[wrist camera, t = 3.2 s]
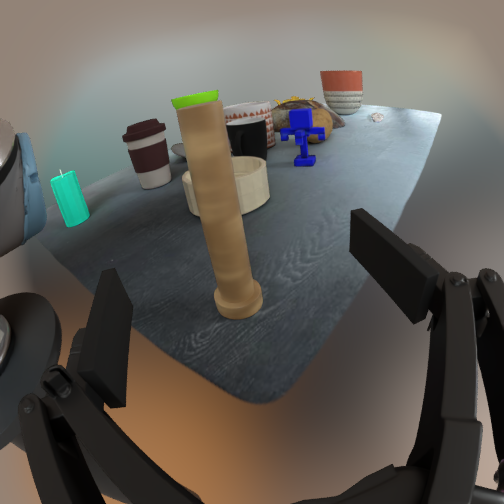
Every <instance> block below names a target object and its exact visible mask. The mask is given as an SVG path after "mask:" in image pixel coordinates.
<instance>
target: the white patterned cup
mask: <svg viewBox="0 0 504 504" xmlns="http://www.w3.org/2000/svg"><path fill="white" fill-rule="evenodd" d="M223 111H224V117H225V123H226V124H227V123H228V122H231V121H235V120H240V119H246V118H256V117H262V118H265V119H266V126H267V149H268V148H270V147H272V146H274V145H275V136H274V128H273V120H272V112H271V105H270V102H269V101H257V102H248V103H241V104H236V105H231V106H226V107H223ZM228 140H229V138H228ZM229 146H230V152H232V149H231V145H230V142H229Z"/></svg>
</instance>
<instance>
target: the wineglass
mask: <svg viewBox="0 0 504 504" xmlns="http://www.w3.org/2000/svg"><path fill="white" fill-rule="evenodd" d="M217 99H218V90H214V91H209V92H203V93H198V94H193V95H188V96H184V97H180V98H176V99H172V100H171V101H172V104H173V106H174V107H175V109H176V110H177V109H180V108H183V107H187V106H191V105H196V104H201V103H206V102H212V101H217Z"/></svg>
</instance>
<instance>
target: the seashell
mask: <svg viewBox="0 0 504 504" xmlns="http://www.w3.org/2000/svg"><path fill="white" fill-rule="evenodd" d="M171 150H172V152H174V154H176V155H179V156H181V157H185V158H186V155H185V150H184V145H183V143H179V144H175V145H173V146H172V147H171Z"/></svg>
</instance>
